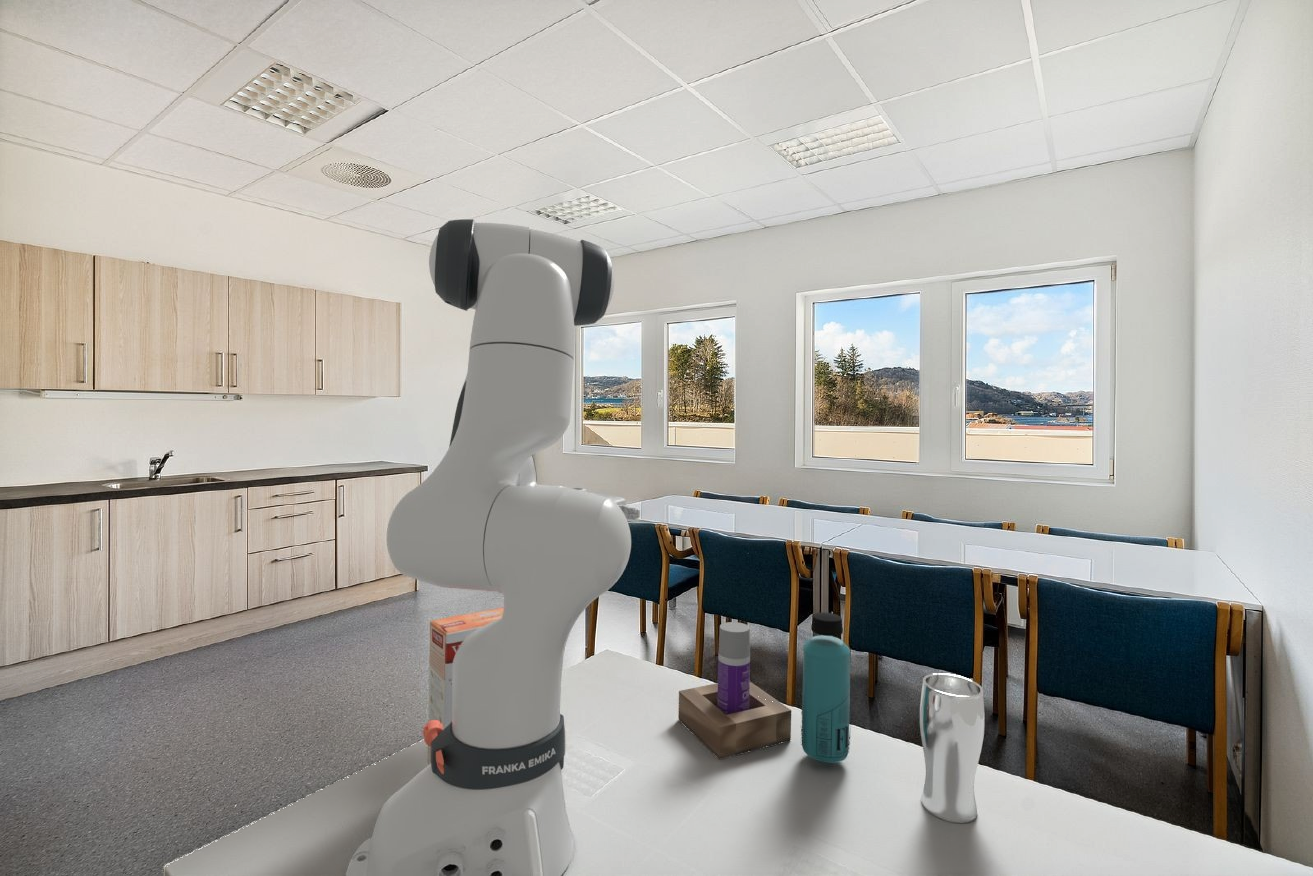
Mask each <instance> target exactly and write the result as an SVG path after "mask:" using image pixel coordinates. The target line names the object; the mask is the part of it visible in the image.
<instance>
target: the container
mask: <svg viewBox="0 0 1313 876" xmlns="http://www.w3.org/2000/svg"><path fill="white" fill-rule="evenodd" d="M750 630H751V628H750V626H749V625H748V624H746V623H742V622H737V621H736V622H734V621H731V622H728V621H727V622H722V623H721V624H720V625H719V637H718V653H717V654H718V656H717V683H718V702H717V708H718V709H720V710H721V711H722V712H723V713H724V714H726V715H728V714H732V713H737V712H741V711H745V710H749V687H750V682H751V680H750V677H751V675H750V674H751V632H750Z"/></svg>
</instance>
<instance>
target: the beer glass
mask: <svg viewBox="0 0 1313 876" xmlns="http://www.w3.org/2000/svg"><path fill="white" fill-rule="evenodd" d="M920 694H921V696H920V702H919V703H920V705H919V727H920V736H921V744H922V750H923V756H924V764H925V779H924V784H923V785H924V786H923V789H922V792H921V797H920V800H921V803H922V806H923V807H924V808H925V809H926V810H927V811H928V812H929V813H930V814H932V815H933V816H934V817H937V818H938V819H941V820H942V821H943V820H944V821H945V822H946V821H947V822H950V823H956V824H967V823H971V822H973V821H974V820H976V818H977V816H978V809H977V808H978V807H977V801H976V795H975V778H976V774H977V769H978V765H979V761H980V756H981V753H982V748H983V742H984V737H985V736H984V735H985V704H984V688H983V687H982V686H981V685H980V684H979V683H978V682H976V681H974V680H972V679H969V678H967V677H964V676H961V675H956V674H951V673H945V672H944V673H943V672H942V673H939V672H938V673H937V672H936V673H930V674H927V675H925V676H923V678H922V687H921V693H920Z"/></svg>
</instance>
